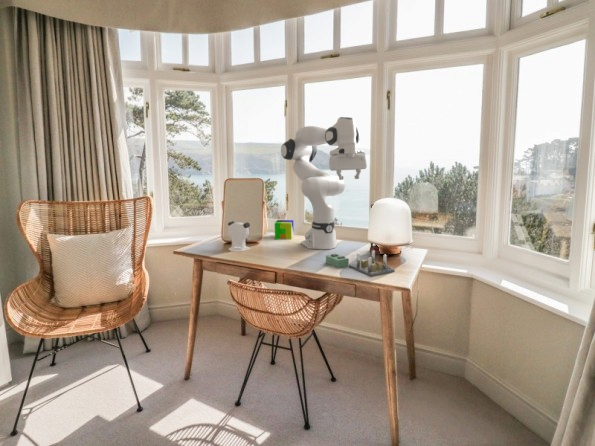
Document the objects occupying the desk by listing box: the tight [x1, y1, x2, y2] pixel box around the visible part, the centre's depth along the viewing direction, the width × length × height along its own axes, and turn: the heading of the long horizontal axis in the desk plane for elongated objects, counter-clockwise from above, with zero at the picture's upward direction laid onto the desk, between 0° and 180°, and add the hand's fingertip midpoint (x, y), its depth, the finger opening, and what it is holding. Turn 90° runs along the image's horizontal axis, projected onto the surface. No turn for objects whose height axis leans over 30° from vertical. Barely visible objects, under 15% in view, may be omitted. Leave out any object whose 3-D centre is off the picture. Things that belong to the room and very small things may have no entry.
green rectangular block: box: [325, 253, 350, 269], centre depth 183 cm, size 10×6×5 cm, turn 30°
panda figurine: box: [227, 221, 251, 253], centre depth 213 cm, size 12×11×15 cm
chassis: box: [348, 251, 395, 277], centre depth 175 cm, size 16×13×7 cm
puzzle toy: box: [274, 219, 295, 240], centre depth 240 cm, size 10×10×10 cm
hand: (349, 179), depth 190 cm, fingers open, 8 cm apart
